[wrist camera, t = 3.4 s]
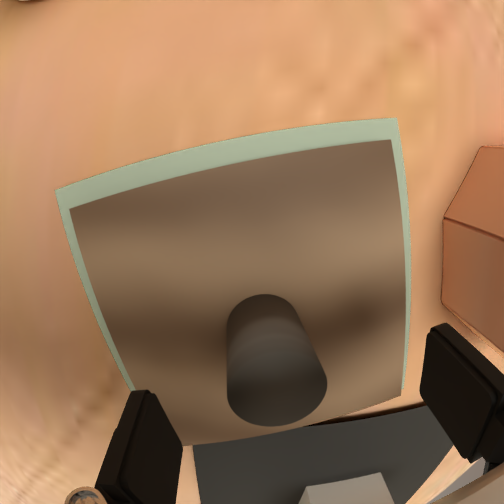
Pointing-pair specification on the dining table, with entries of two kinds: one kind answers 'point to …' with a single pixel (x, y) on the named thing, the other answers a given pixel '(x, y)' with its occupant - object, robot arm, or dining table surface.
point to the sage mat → (227, 155)
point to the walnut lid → (256, 289)
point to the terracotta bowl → (477, 249)
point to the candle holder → (326, 462)
